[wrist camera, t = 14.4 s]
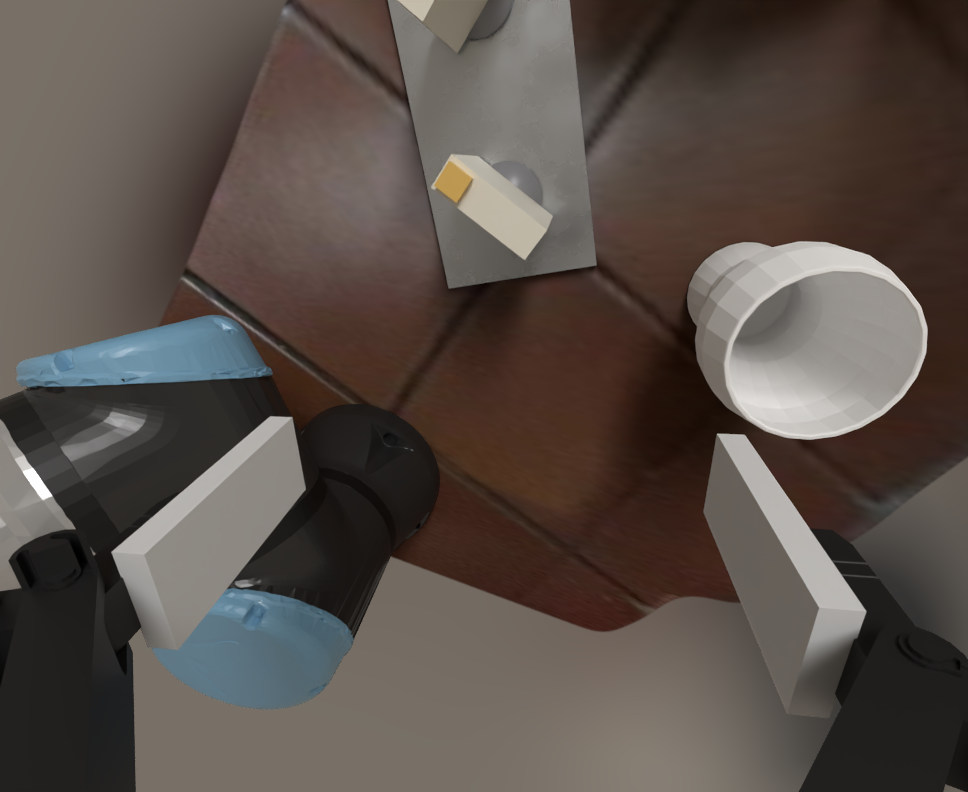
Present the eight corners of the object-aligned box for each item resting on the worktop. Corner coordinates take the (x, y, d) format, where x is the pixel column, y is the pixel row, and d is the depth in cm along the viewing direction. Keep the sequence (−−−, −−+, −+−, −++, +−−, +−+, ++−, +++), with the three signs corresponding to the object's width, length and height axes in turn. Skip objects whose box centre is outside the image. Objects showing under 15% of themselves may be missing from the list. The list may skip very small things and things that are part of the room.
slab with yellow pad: (523, 255, 41) (508, 281, 32) (451, 199, 40) (414, 209, 31) (566, 198, 39) (563, 209, 30) (490, 137, 38) (464, 129, 29)
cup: (686, 374, 44) (735, 469, 30) (651, 252, 40) (690, 298, 27) (825, 333, 41) (951, 419, 27) (802, 198, 37) (931, 218, 24)
